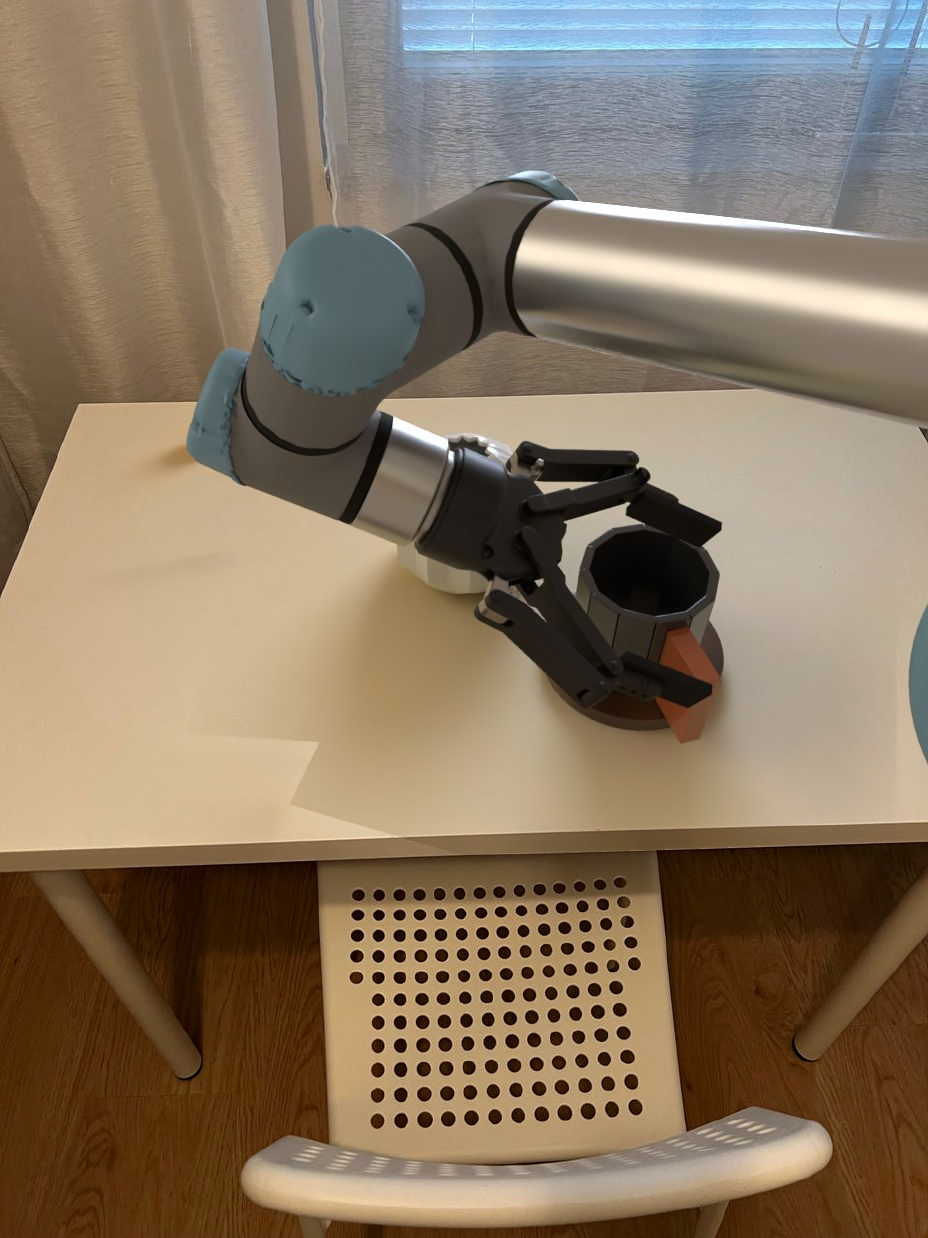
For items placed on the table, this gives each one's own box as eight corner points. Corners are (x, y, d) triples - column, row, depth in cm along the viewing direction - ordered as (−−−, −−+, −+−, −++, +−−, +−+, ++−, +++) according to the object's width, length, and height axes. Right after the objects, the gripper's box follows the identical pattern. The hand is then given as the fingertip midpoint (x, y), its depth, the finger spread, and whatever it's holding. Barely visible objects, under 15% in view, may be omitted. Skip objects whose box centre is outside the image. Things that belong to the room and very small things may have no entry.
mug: (720, 618, 85) (744, 544, 78) (696, 752, 76) (722, 681, 69) (585, 588, 88) (597, 512, 80) (546, 713, 78) (556, 641, 71)
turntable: (730, 613, 88) (734, 602, 87) (707, 751, 78) (711, 741, 77) (563, 575, 91) (565, 564, 90) (521, 703, 81) (522, 693, 80)
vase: (533, 515, 96) (542, 407, 86) (531, 617, 87) (541, 510, 77) (400, 508, 97) (394, 401, 87) (384, 609, 88) (375, 501, 78)
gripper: (447, 394, 70) (686, 502, 76) (368, 685, 58) (662, 790, 63) (488, 327, 64) (745, 449, 70) (410, 636, 52) (731, 757, 57)
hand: (706, 612), depth 66 cm, fingers open, 13 cm apart
